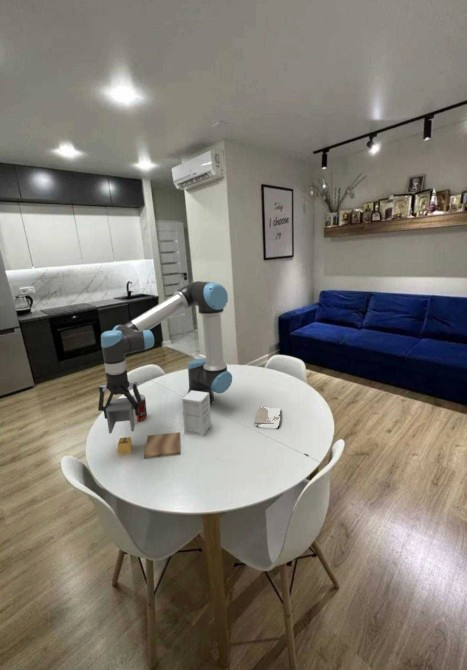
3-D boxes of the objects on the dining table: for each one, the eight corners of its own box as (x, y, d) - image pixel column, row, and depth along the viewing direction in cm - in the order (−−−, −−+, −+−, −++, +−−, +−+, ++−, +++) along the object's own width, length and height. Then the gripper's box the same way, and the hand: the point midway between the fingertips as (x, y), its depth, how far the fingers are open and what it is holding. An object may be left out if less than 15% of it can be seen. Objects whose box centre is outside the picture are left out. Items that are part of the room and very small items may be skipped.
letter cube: (132, 446, 126) (131, 436, 125) (130, 452, 122) (129, 443, 121) (120, 447, 125) (119, 437, 124) (118, 454, 121) (117, 444, 120)
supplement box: (211, 425, 140) (210, 392, 136) (203, 436, 132) (201, 401, 128) (192, 422, 144) (191, 389, 139) (183, 432, 135) (181, 398, 131)
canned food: (142, 423, 143) (140, 401, 140) (127, 421, 145) (124, 400, 142) (149, 414, 150) (148, 394, 148) (135, 413, 152) (133, 393, 149)
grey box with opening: (136, 418, 126) (134, 397, 123) (133, 430, 117) (130, 407, 115) (114, 421, 124) (111, 399, 122) (109, 433, 116) (105, 410, 113)
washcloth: (254, 428, 139) (254, 422, 138) (257, 409, 156) (257, 403, 155) (280, 430, 137) (280, 424, 136) (281, 411, 154) (281, 405, 153)
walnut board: (180, 434, 134) (180, 432, 133) (180, 454, 120) (179, 451, 120) (147, 437, 131) (147, 435, 131) (143, 458, 118) (143, 456, 118)
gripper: (146, 365, 120) (152, 415, 126) (88, 369, 116) (97, 421, 122) (144, 372, 113) (150, 425, 119) (82, 377, 109) (91, 432, 115)
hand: (123, 423), depth 121 cm, fingers closed on grey box with opening, 9 cm apart
